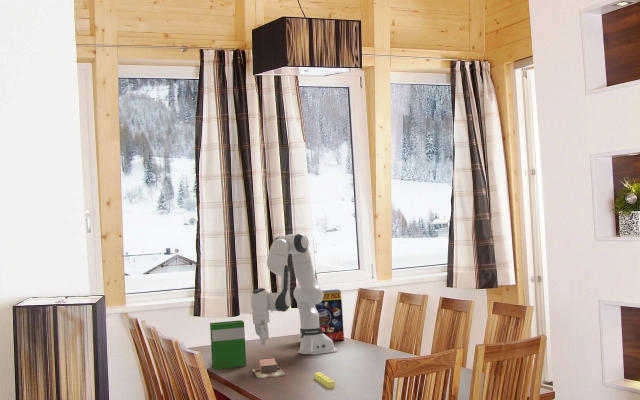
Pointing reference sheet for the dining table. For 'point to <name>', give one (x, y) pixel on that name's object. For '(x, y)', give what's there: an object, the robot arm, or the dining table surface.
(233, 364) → the hardback book
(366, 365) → the dining table surface
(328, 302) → the cereal box
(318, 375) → the yellow segmented bar
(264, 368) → the block
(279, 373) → the board
